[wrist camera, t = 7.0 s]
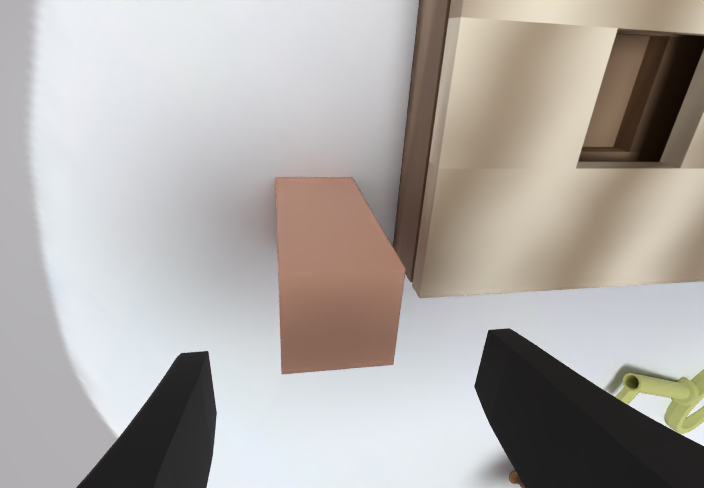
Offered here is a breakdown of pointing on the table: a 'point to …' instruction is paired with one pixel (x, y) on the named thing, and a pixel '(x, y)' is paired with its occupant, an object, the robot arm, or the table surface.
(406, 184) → the wooden box
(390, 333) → the terracotta rectangular block
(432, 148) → the lid
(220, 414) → the table surface
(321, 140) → the table surface
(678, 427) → the key
